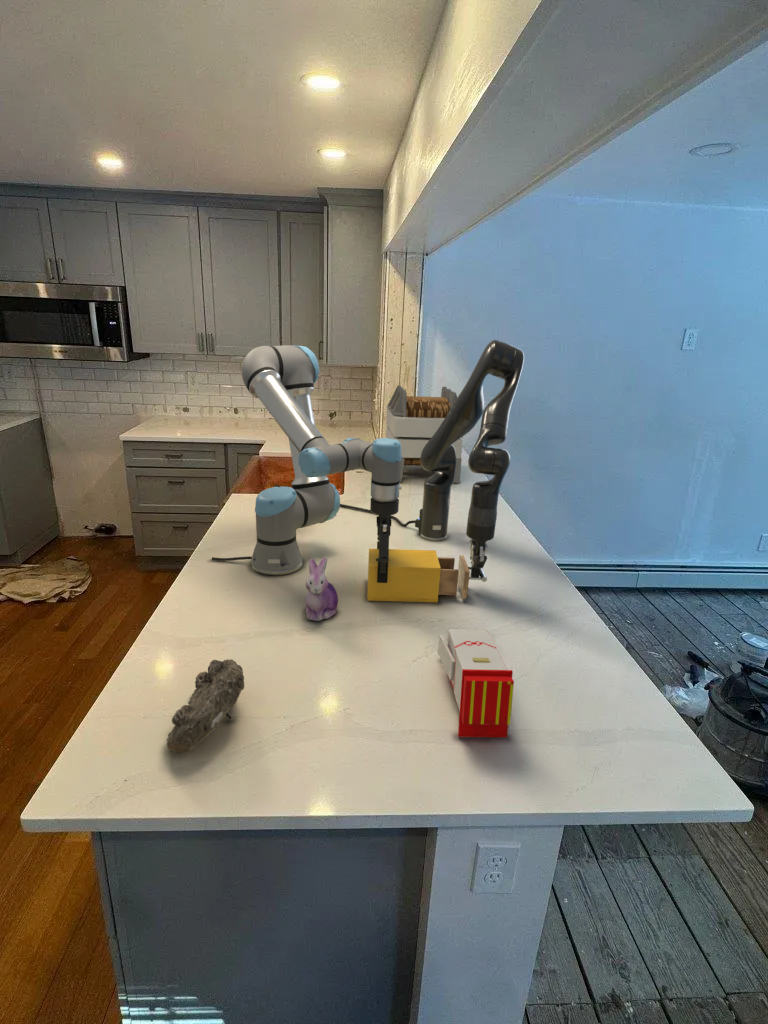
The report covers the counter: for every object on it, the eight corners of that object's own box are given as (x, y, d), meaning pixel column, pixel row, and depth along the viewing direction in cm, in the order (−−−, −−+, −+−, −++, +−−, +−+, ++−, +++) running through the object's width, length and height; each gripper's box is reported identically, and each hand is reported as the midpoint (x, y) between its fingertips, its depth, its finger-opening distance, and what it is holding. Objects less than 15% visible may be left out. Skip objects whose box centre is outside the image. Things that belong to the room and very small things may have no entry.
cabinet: (433, 583, 165) (435, 550, 162) (437, 602, 154) (440, 567, 151) (367, 581, 164) (368, 548, 161) (367, 600, 154) (368, 565, 150)
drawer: (479, 582, 165) (482, 556, 162) (486, 599, 155) (489, 571, 152) (400, 579, 164) (401, 553, 161) (402, 597, 154) (404, 569, 151)
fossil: (192, 660, 117) (244, 628, 112) (224, 691, 120) (276, 661, 115) (142, 746, 98) (202, 712, 93) (182, 779, 101) (242, 748, 96)
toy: (488, 613, 130) (523, 677, 101) (484, 667, 133) (517, 744, 104) (435, 612, 130) (455, 676, 101) (432, 666, 133) (451, 743, 103)
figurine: (311, 626, 140) (311, 571, 135) (297, 607, 148) (296, 554, 143) (346, 618, 144) (347, 564, 139) (330, 600, 152) (331, 549, 147)
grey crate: (382, 463, 289) (386, 382, 275) (445, 464, 293) (451, 384, 279) (390, 482, 257) (394, 392, 243) (460, 483, 261) (468, 394, 247)
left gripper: (401, 513, 139) (397, 592, 146) (396, 484, 161) (393, 554, 168) (370, 512, 138) (368, 592, 146) (370, 484, 161) (368, 554, 168)
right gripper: (500, 530, 146) (492, 589, 152) (490, 512, 159) (483, 568, 165) (472, 528, 146) (464, 588, 152) (464, 511, 159) (457, 567, 165)
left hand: (381, 572), depth 157 cm, fingers closed on cabinet, 11 cm apart
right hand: (474, 578), depth 158 cm, fingers closed
